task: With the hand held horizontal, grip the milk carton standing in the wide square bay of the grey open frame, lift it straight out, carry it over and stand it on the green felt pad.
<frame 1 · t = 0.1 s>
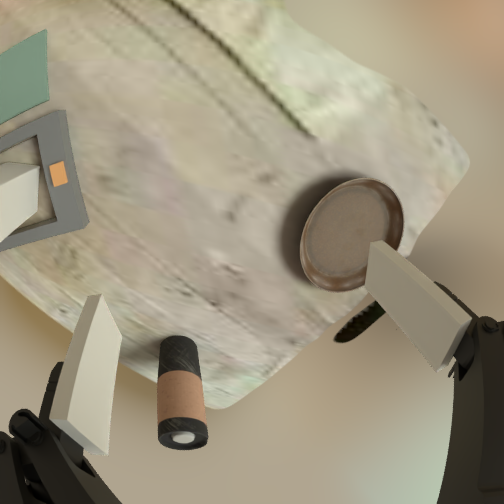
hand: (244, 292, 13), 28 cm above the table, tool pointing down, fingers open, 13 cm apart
travel mug: (178, 347, 50), on the table
milk carton: (22, 185, 31), resting in grey open frame
felt pad: (16, 79, 23), on the table
plant saucer: (348, 231, 47), on the table
grey open frame: (22, 186, 31), on the table
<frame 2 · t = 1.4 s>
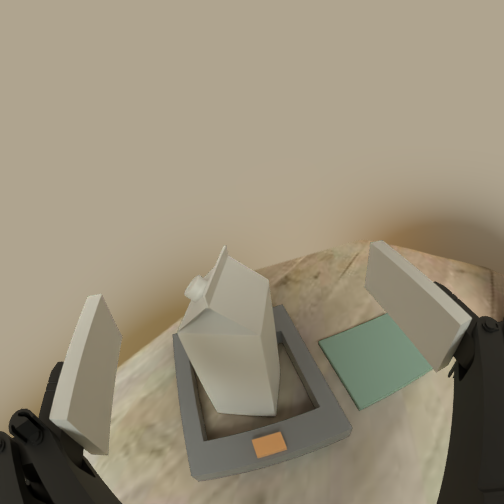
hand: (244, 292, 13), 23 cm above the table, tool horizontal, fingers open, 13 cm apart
milk carton: (250, 392, 32), resting in grey open frame
felt pad: (376, 357, 33), on the table
grey open frame: (250, 392, 32), on the table
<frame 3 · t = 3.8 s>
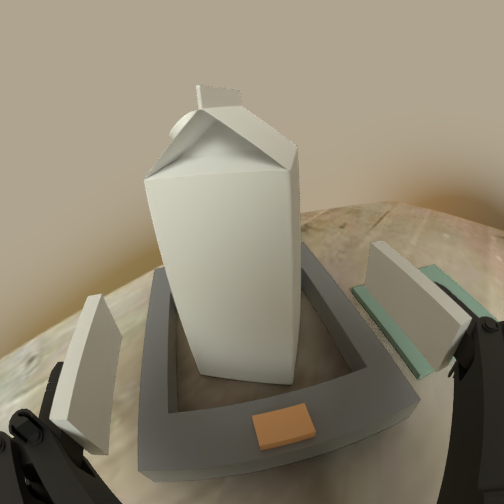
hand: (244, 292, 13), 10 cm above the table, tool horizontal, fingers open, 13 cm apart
milk carton: (254, 349, 22), resting in grey open frame
felt pad: (429, 312, 23), on the table
grey open frame: (253, 348, 22), on the table
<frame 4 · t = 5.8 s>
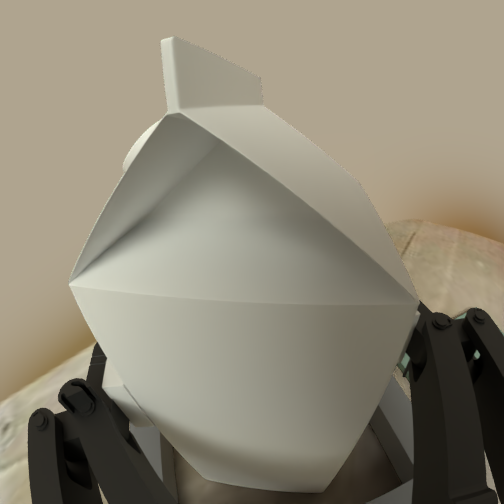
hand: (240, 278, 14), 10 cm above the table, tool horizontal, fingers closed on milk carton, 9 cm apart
milk carton: (272, 443, 15), resting in grey open frame, touching gripper
grey open frame: (272, 442, 15), on the table
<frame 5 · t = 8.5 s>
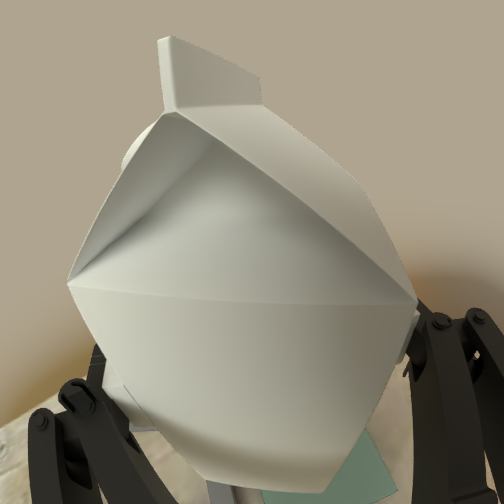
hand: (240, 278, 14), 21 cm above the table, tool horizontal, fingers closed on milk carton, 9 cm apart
milk carton: (271, 443, 15), point 11 cm above the table, touching gripper
felt pad: (319, 470, 20), on the table
grey open frame: (148, 480, 20), on the table
when the fingers open (12 cm above the table, at t = 11.0 s): milk carton drops 1 cm, resting on felt pad.
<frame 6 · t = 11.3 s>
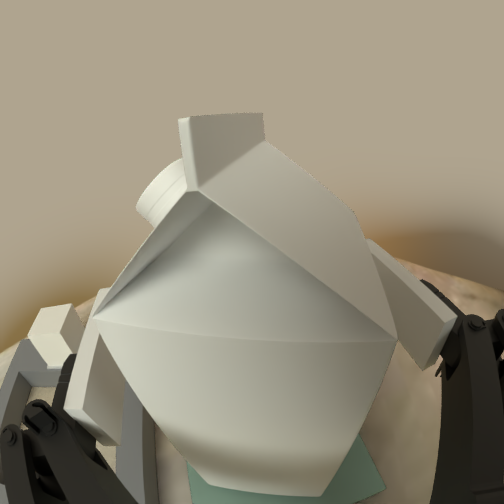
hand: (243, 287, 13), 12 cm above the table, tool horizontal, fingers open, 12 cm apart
milk carton: (272, 450, 15), point 1 cm above the table, touching felt pad
felt pad: (273, 451, 16), on the table
grey open frame: (66, 443, 15), on the table
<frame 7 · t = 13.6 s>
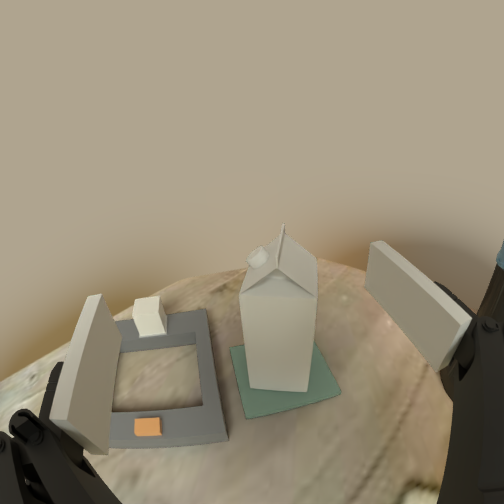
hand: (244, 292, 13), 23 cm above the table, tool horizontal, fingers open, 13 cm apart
milk carton: (281, 371, 35), resting on felt pad
felt pad: (281, 372, 35), on the table
grey open frame: (156, 381, 34), on the table
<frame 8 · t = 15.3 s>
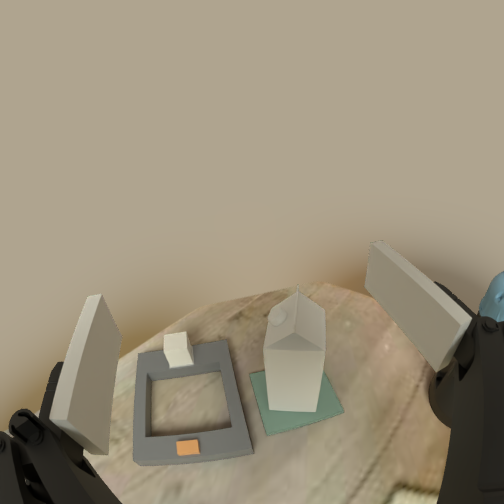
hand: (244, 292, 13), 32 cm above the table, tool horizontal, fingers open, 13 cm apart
milk carton: (294, 394, 40), resting on felt pad
felt pad: (294, 394, 40), on the table
grey open frame: (188, 406, 40), on the table
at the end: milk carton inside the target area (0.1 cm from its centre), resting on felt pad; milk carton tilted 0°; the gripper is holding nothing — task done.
